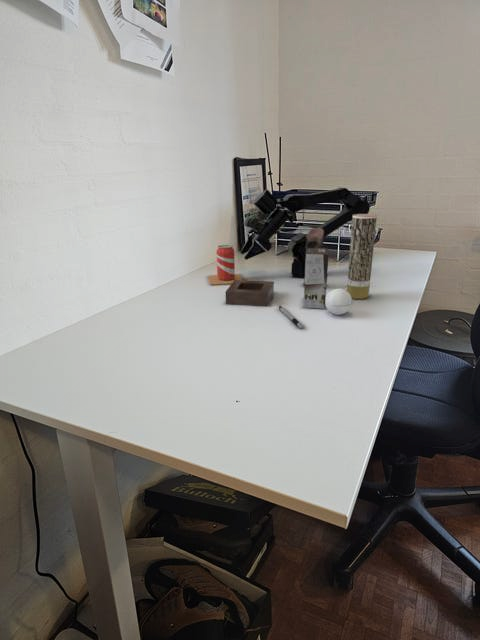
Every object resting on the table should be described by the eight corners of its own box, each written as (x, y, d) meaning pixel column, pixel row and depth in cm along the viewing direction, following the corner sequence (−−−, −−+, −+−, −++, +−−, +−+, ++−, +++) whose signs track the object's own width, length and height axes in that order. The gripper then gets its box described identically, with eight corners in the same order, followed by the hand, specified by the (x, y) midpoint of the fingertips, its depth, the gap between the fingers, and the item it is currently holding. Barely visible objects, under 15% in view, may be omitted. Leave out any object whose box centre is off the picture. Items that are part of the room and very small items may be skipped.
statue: (325, 284, 139) (329, 226, 132) (320, 290, 133) (324, 229, 126) (306, 282, 142) (309, 225, 135) (300, 288, 136) (303, 228, 129)
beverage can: (236, 280, 145) (235, 247, 141) (218, 281, 144) (217, 248, 140) (233, 276, 151) (232, 244, 146) (216, 277, 150) (215, 245, 145)
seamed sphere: (324, 318, 109) (326, 292, 107) (323, 309, 116) (325, 284, 114) (362, 319, 108) (365, 293, 105) (359, 310, 115) (361, 285, 112)
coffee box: (325, 309, 116) (328, 254, 110) (302, 308, 117) (305, 253, 111) (325, 299, 124) (328, 247, 119) (304, 298, 126) (306, 247, 120)
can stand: (273, 293, 131) (273, 281, 130) (268, 306, 119) (268, 293, 118) (235, 291, 134) (234, 279, 132) (225, 304, 122) (225, 291, 121)
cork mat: (239, 274, 154) (239, 273, 154) (244, 283, 143) (244, 282, 143) (208, 276, 152) (208, 275, 152) (210, 285, 141) (210, 284, 141)
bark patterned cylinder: (368, 294, 128) (377, 214, 119) (367, 300, 122) (376, 217, 113) (347, 292, 131) (353, 213, 121) (345, 298, 125) (351, 216, 115)
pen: (282, 309, 117) (282, 305, 116) (305, 330, 102) (305, 325, 101) (278, 309, 116) (278, 305, 116) (300, 330, 102) (300, 326, 101)
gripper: (252, 205, 148) (224, 236, 151) (262, 210, 131) (230, 246, 134) (273, 226, 152) (245, 256, 155) (285, 233, 135) (253, 267, 138)
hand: (243, 256), depth 145 cm, fingers open, 9 cm apart
